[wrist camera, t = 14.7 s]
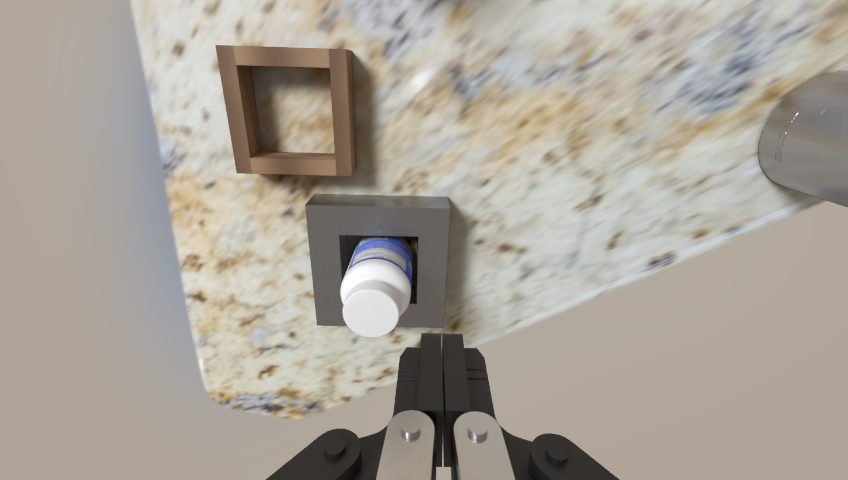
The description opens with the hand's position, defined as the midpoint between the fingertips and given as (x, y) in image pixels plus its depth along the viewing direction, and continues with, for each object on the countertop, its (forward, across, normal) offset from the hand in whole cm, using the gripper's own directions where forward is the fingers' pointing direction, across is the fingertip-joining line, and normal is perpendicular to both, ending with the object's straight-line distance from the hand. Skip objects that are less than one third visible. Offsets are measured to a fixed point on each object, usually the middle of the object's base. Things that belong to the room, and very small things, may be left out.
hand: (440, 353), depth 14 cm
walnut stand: (+21, +11, -7) cm, 24 cm away
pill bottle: (+21, +5, +6) cm, 22 cm away
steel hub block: (+21, +5, +6) cm, 22 cm away
